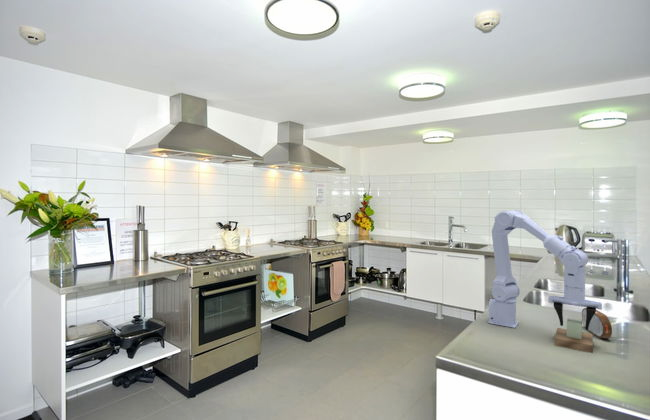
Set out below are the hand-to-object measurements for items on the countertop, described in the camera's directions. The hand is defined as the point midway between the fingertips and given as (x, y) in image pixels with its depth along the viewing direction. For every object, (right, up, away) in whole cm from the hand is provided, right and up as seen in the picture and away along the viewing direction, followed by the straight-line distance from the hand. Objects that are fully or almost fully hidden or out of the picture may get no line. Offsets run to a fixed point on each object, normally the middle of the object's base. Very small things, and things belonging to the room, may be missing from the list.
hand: (574, 327), depth 118 cm
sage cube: (0, -3, 0) cm, 3 cm away
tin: (+14, -6, +9) cm, 17 cm away
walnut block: (0, -6, 0) cm, 6 cm away
